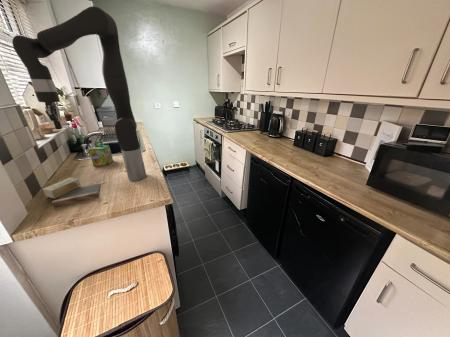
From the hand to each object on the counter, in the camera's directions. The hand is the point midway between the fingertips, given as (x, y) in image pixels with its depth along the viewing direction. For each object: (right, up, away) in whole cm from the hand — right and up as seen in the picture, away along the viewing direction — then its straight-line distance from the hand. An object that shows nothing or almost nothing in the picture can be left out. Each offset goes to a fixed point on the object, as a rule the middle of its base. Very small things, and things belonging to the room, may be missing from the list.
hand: (59, 129), depth 89 cm
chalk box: (-1, -16, +34) cm, 37 cm away
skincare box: (+5, -26, +4) cm, 27 cm away
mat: (+11, -31, -1) cm, 33 cm away
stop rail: (+15, -34, -7) cm, 38 cm away
